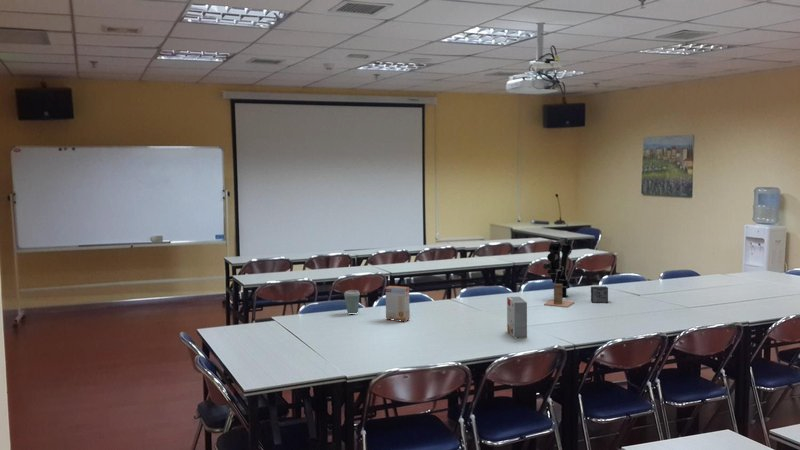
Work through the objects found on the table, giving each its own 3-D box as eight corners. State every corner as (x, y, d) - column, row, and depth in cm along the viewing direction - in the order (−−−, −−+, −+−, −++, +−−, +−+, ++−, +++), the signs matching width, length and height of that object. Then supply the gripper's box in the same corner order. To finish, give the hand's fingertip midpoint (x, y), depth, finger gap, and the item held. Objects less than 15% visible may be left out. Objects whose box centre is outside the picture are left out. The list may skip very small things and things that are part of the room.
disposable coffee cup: (358, 316, 413) (357, 293, 412) (342, 315, 415) (341, 292, 414) (362, 312, 423) (362, 289, 422) (346, 312, 426) (346, 289, 424)
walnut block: (554, 302, 439) (554, 283, 438) (562, 302, 438) (562, 283, 436) (553, 304, 435) (553, 284, 433) (561, 304, 433) (561, 285, 432)
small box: (606, 301, 446) (606, 286, 445) (608, 303, 440) (608, 287, 439) (590, 301, 447) (590, 286, 447) (592, 303, 441) (592, 287, 440)
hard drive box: (506, 331, 369) (506, 296, 368) (519, 330, 370) (519, 296, 368) (513, 338, 354) (513, 302, 352) (527, 337, 355) (527, 301, 353)
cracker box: (410, 320, 400) (409, 286, 398) (405, 322, 394) (404, 288, 393) (390, 318, 407) (390, 285, 405) (385, 320, 402) (385, 286, 400)
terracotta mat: (551, 300, 450) (551, 299, 450) (574, 303, 441) (574, 301, 441) (544, 305, 436) (544, 303, 436) (567, 307, 428) (567, 306, 428)
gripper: (548, 257, 461) (548, 279, 462) (540, 260, 445) (540, 283, 446) (564, 258, 455) (564, 280, 456) (556, 261, 439) (555, 284, 440)
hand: (555, 281), depth 450 cm, fingers open, 9 cm apart
